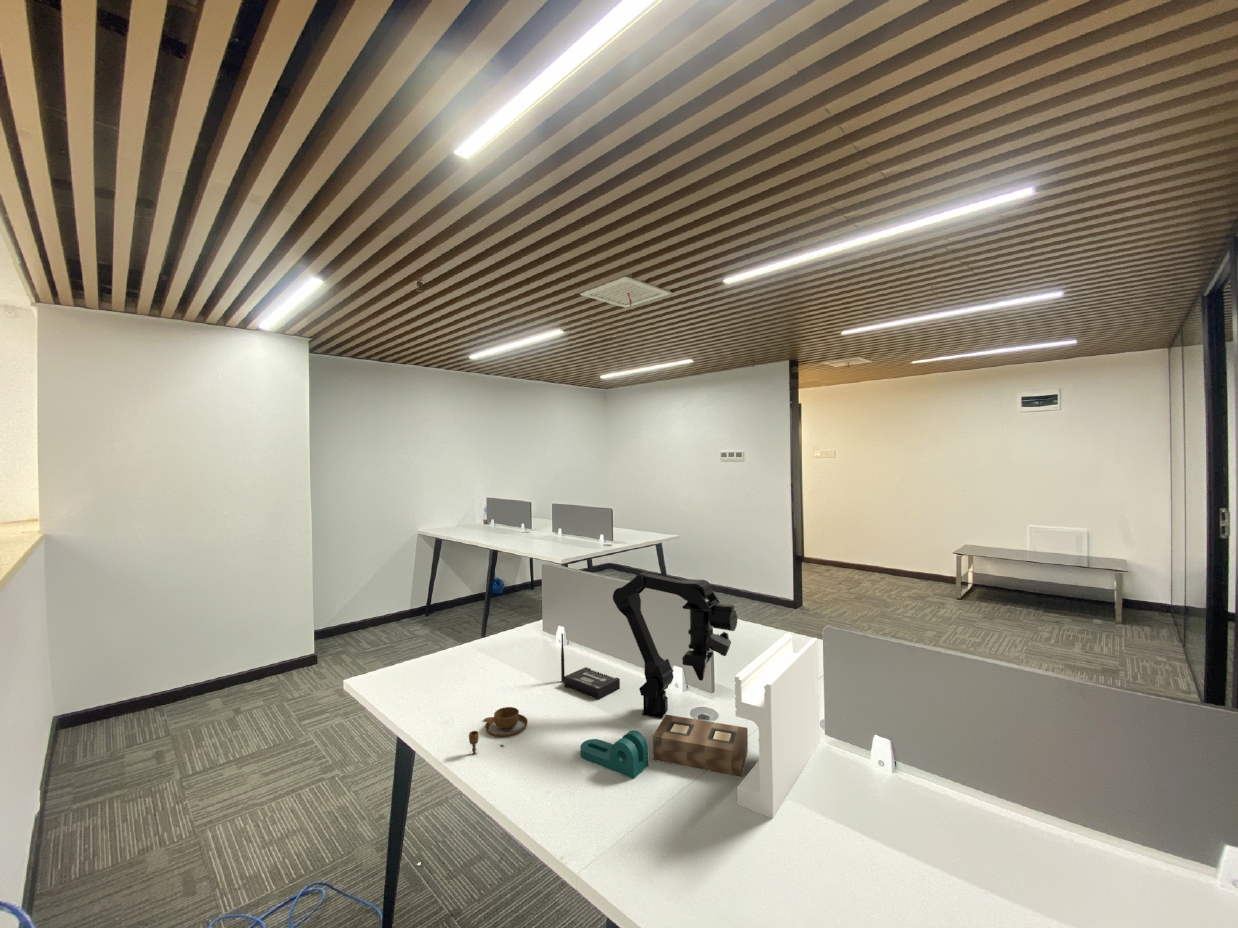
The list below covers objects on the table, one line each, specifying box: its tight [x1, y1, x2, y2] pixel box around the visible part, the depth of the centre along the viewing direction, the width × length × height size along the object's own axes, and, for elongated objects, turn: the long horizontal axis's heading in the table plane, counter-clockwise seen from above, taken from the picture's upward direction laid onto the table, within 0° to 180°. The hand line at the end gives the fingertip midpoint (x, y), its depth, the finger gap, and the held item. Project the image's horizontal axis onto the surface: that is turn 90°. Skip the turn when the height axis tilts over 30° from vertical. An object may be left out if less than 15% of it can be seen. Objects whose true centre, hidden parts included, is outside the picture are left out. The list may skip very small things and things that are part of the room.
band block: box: [652, 714, 749, 778], centre depth 131 cm, size 22×12×6 cm, turn 69°
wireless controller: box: [560, 633, 621, 700], centre depth 174 cm, size 20×14×17 cm
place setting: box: [468, 706, 529, 756], centre depth 145 cm, size 18×20×6 cm
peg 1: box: [670, 724, 689, 734], centre depth 133 cm, size 4×4×6 cm
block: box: [734, 632, 821, 819], centre depth 124 cm, size 35×8×28 cm, turn 144°
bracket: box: [579, 729, 649, 780], centre depth 130 cm, size 18×7×8 cm, turn 56°
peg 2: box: [713, 731, 732, 742], centre depth 129 cm, size 4×4×6 cm
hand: (701, 679), depth 147 cm, fingers closed
